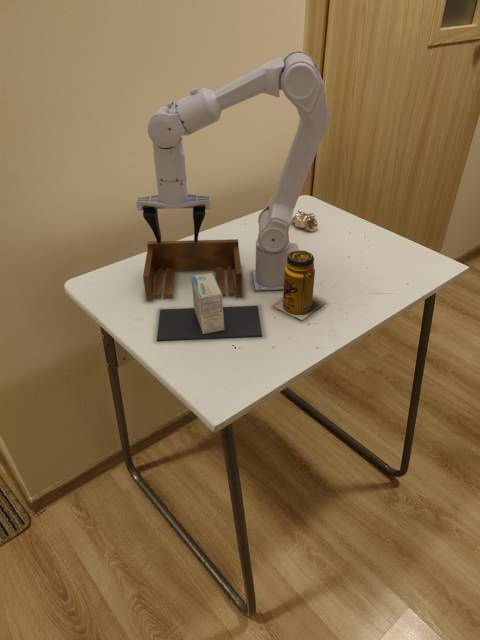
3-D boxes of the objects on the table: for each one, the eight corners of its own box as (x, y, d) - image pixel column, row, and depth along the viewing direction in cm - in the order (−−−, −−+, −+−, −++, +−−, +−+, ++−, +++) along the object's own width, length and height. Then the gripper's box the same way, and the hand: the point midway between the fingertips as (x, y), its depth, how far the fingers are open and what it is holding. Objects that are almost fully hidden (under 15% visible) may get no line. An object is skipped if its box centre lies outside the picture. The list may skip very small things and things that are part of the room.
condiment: (274, 307, 104) (276, 256, 96) (298, 291, 109) (302, 241, 101) (301, 321, 101) (306, 269, 93) (326, 303, 106) (332, 253, 98)
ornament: (324, 227, 133) (326, 214, 131) (307, 235, 129) (308, 221, 127) (303, 217, 137) (304, 204, 135) (285, 224, 134) (286, 211, 131)
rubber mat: (257, 307, 104) (257, 305, 104) (262, 336, 96) (262, 335, 96) (160, 310, 102) (160, 309, 102) (157, 341, 94) (156, 339, 94)
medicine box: (224, 331, 97) (223, 293, 91) (202, 335, 96) (199, 297, 90) (215, 308, 102) (213, 272, 97) (194, 312, 101) (190, 275, 96)
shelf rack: (238, 266, 116) (238, 239, 112) (242, 297, 107) (241, 268, 102) (151, 269, 114) (147, 241, 110) (146, 301, 105) (142, 271, 100)
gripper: (208, 168, 100) (211, 231, 109) (135, 169, 99) (144, 232, 108) (209, 182, 95) (212, 246, 104) (131, 183, 93) (141, 248, 102)
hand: (177, 240), depth 105 cm, fingers open, 7 cm apart
